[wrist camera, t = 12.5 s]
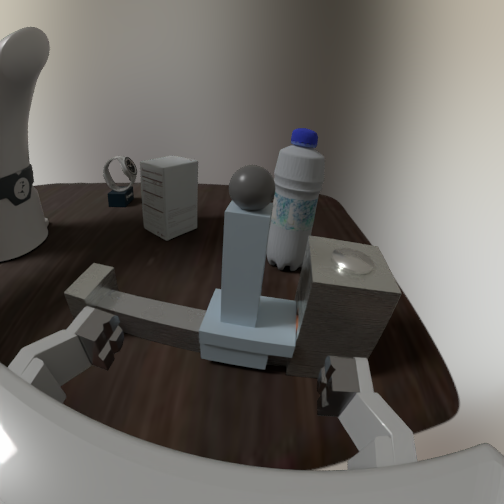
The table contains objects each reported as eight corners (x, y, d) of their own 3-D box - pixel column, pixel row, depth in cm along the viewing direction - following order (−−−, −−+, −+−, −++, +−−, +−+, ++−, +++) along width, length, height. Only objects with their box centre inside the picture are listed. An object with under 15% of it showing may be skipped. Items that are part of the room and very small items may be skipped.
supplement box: (173, 217, 53) (173, 154, 47) (198, 229, 50) (199, 160, 43) (142, 228, 48) (138, 160, 42) (165, 242, 44) (163, 166, 38)
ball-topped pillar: (200, 359, 24) (197, 170, 16) (215, 317, 29) (221, 154, 21) (286, 374, 23) (334, 188, 15) (289, 329, 29) (323, 167, 20)
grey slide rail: (77, 327, 25) (47, 236, 20) (109, 287, 32) (94, 204, 27) (355, 384, 23) (405, 293, 18) (347, 329, 30) (379, 243, 25)
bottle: (271, 248, 46) (287, 124, 36) (310, 259, 44) (334, 132, 34) (256, 267, 40) (272, 124, 30) (300, 280, 38) (328, 133, 29)
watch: (133, 207, 57) (131, 158, 51) (102, 206, 56) (98, 160, 51) (141, 198, 62) (139, 153, 56) (111, 198, 61) (109, 155, 56)
